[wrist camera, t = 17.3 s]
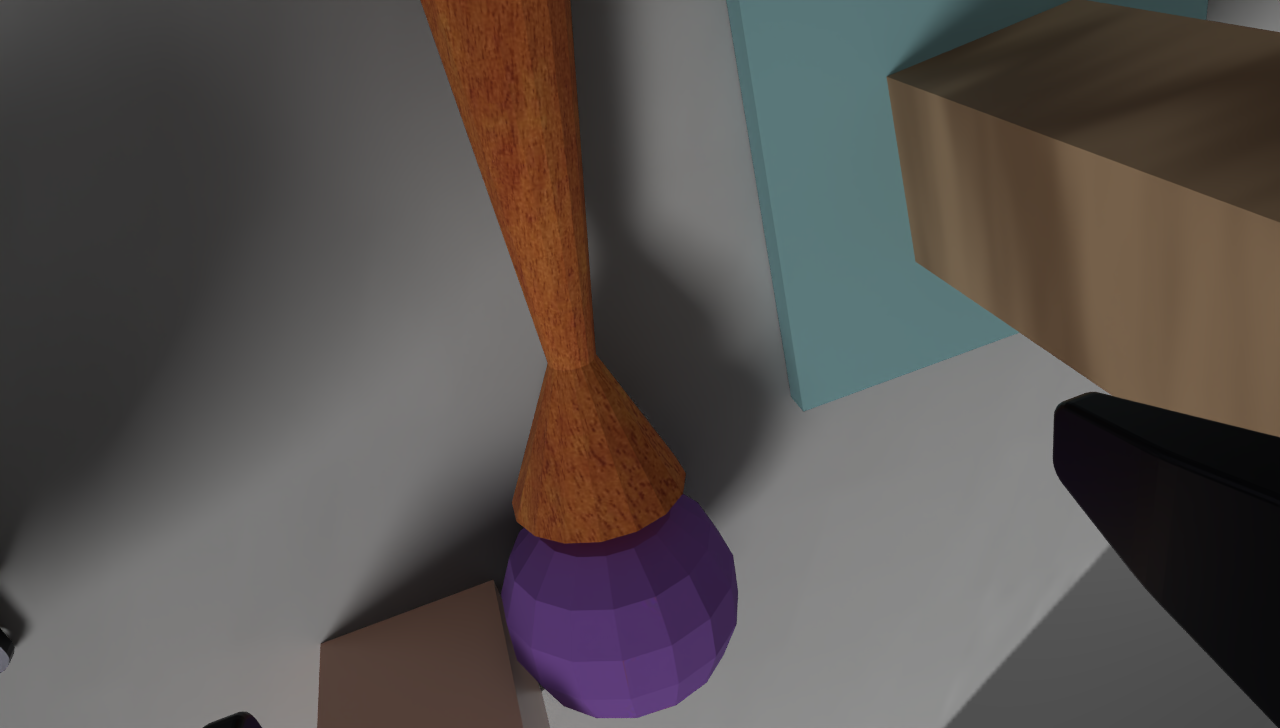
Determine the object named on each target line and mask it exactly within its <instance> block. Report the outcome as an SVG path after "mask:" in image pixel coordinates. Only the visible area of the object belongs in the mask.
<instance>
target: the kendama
mask: <svg viewBox="0 0 1280 728" xmlns="http://www.w3.org/2000/svg"><path fill="white" fill-rule="evenodd" d="M420 1H421V3H422V6H423V9H424V12H425V15H426V18H427V21H428V23H429V26H430V29H431V32H432V35H433V38H434V40H435V43H436V46H437V49H438V52H439V55H440V58H441V60H442V63H443V66H444V69H445V72H446V75H447V77H448V80H449V83H450V86H451V89H452V92H453V95H454V97H455V100H456V103H457V106H458V109H459V112H460V114H461V117H462V120H463V123H464V126H465V129H466V132H467V134H468V137H469V140H470V143H471V146H472V149H473V151H474V154H475V157H476V160H477V163H478V166H479V169H480V171H481V174H482V177H483V180H484V183H485V186H486V188H487V191H488V194H489V197H490V200H491V203H492V206H493V208H494V211H495V214H496V217H497V220H498V223H499V225H500V228H501V231H502V234H503V237H504V240H505V243H506V245H507V248H508V251H509V254H510V257H511V260H512V262H513V265H514V268H515V271H516V274H517V277H518V280H519V282H520V285H521V288H522V291H523V294H524V297H525V299H526V302H527V305H528V308H529V311H530V314H531V317H532V319H533V322H534V325H535V328H536V331H537V334H538V336H539V339H540V342H541V345H542V348H543V351H544V354H545V356H546V359H547V362H548V364H547V368H546V372H545V376H544V380H543V384H542V388H541V392H540V395H539V399H538V403H537V407H536V411H535V415H534V419H533V423H532V427H531V430H530V434H529V438H528V442H527V446H526V450H525V454H524V458H523V461H522V465H521V469H520V473H519V477H518V481H517V485H516V489H515V492H514V496H513V500H512V505H513V509H514V513H515V517H516V521H517V522H518V523H519V524H520V525H522V526H523V527H524V528H523V529H522V530H521V531H520V532H519V534H518V536H517V539H516V541H515V544H514V546H513V549H512V551H511V554H510V556H509V560H508V565H507V569H506V574H505V578H504V583H503V587H502V592H501V597H502V602H503V607H504V612H505V618H506V623H507V627H508V630H509V634H510V637H511V641H512V644H513V648H514V651H515V655H516V658H517V661H518V662H519V663H520V664H521V665H522V666H523V667H524V668H525V669H526V670H527V671H528V672H529V673H530V674H531V675H532V676H533V677H534V678H535V679H536V680H537V681H538V682H539V683H540V684H541V686H543V687H544V688H545V689H546V690H547V691H548V692H549V693H550V694H551V695H552V696H553V697H554V698H556V699H557V700H558V701H559V702H560V703H561V704H562V705H563V706H565V707H568V708H571V709H573V710H576V711H579V712H582V713H584V714H587V715H590V716H593V717H595V718H638V717H641V716H644V715H647V714H650V713H653V712H656V711H659V710H662V709H666V708H669V707H672V706H675V705H677V704H678V703H680V702H681V701H682V700H684V699H685V698H686V697H688V696H689V695H690V694H692V693H693V692H694V691H696V690H697V689H698V688H700V687H701V686H702V685H704V684H705V683H707V681H708V679H709V678H710V676H711V674H712V673H713V671H714V670H715V668H716V666H717V665H718V663H719V661H720V660H721V658H722V657H723V655H724V653H725V650H726V648H727V645H728V643H729V641H730V638H731V636H732V634H733V631H734V629H735V626H736V624H737V603H738V588H737V581H736V573H735V566H734V559H733V555H732V553H731V551H730V550H729V548H728V546H727V545H726V543H725V541H724V540H723V538H722V536H721V535H720V533H719V531H718V530H717V528H716V527H715V526H714V524H713V523H712V521H711V520H710V519H709V517H708V516H707V515H706V513H705V512H704V510H703V509H702V508H701V506H700V505H699V503H698V502H696V501H694V500H693V499H691V498H689V497H688V496H686V495H684V494H683V490H684V483H685V476H686V473H685V471H684V470H683V468H682V466H681V465H680V463H679V461H678V460H677V458H676V457H675V455H674V454H673V453H672V451H671V450H670V449H669V448H668V446H667V445H666V444H665V442H664V441H663V440H662V439H661V437H660V436H659V435H658V433H657V432H656V431H655V429H654V428H653V427H652V426H651V424H650V423H649V422H648V420H647V419H646V418H645V417H644V415H643V414H642V413H641V411H640V410H639V409H638V408H637V406H636V405H635V404H634V402H633V401H632V400H631V399H630V397H629V396H628V395H627V393H626V392H625V391H624V390H623V388H622V387H621V386H620V384H619V383H618V382H617V381H616V379H615V378H614V377H613V375H612V374H611V373H610V371H609V370H608V369H607V368H606V366H605V365H604V364H603V362H602V361H601V360H600V359H599V357H598V356H597V355H596V349H595V335H594V322H593V308H592V294H591V280H590V266H589V252H588V238H587V225H586V211H585V197H584V183H583V169H582V155H581V141H580V128H579V114H578V100H577V86H576V72H575V58H574V44H573V31H572V17H571V3H570V0H420Z"/></svg>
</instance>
